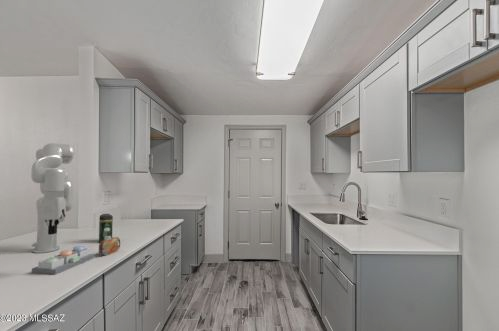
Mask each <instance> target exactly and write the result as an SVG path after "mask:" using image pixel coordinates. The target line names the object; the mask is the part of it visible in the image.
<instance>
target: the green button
mask: <svg viewBox="0 0 499 331" xmlns="http://www.w3.org/2000/svg"><path fill="white" fill-rule="evenodd" d="M49 258H50V259H48V258H45V259H46V260H45V259H44V260H45V262H53V261H56V260H58V258H51V257H49Z"/></svg>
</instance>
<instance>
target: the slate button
mask: <svg viewBox="0 0 499 331" xmlns="http://www.w3.org/2000/svg"><path fill="white" fill-rule="evenodd" d="M72 250H73V252H81V251H84V250H85V245H77V246H74V247H73V249H72Z"/></svg>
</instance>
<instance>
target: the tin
mask: <svg viewBox="0 0 499 331" xmlns="http://www.w3.org/2000/svg"><path fill="white" fill-rule="evenodd" d="M120 248H121V240H120V238H119V237H118V236H116V237H113V236H112V238H110V239H107V240H104V241H102V242H101V243H100V242H99V245H98V253H99V254H100V256H107V257H108V256H110V255H111V254H114V253H116V252H118V251H119V249H120Z"/></svg>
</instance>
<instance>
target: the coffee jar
mask: <svg viewBox="0 0 499 331" xmlns="http://www.w3.org/2000/svg"><path fill="white" fill-rule="evenodd" d="M113 220H114V217H113V215H112V214H110V213H102V214H100V215H99V220H98V221H99V222H98V223H99V224H98V225H99V226H98V241H99V244H100V243H101V242H102V241H104V240H107V239H110V238H113V222H114V221H113Z"/></svg>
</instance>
